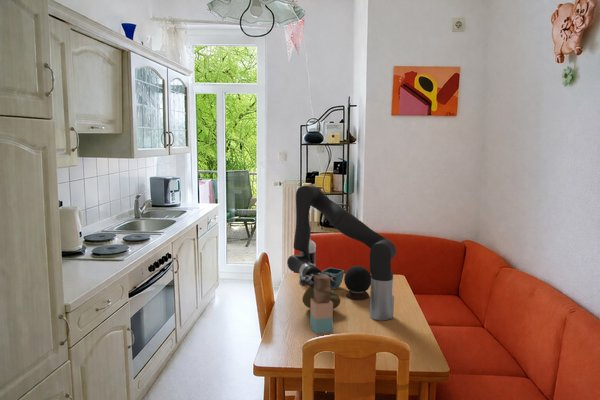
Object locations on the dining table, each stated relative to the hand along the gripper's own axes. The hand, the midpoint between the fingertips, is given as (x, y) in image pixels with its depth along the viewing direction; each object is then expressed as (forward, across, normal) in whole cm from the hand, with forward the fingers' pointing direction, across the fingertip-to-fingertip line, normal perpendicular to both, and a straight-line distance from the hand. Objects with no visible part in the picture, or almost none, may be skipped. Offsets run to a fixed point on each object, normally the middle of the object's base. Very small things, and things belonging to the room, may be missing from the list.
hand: (323, 285), depth 174 cm
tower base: (-2, 0, +19) cm, 19 cm away
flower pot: (-48, +23, +19) cm, 57 cm away
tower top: (-2, 0, +13) cm, 13 cm away
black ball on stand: (-33, +30, +19) cm, 49 cm away
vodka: (-59, +13, +19) cm, 63 cm away
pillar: (-2, 0, +7) cm, 7 cm away
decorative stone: (-21, +7, +19) cm, 29 cm away
